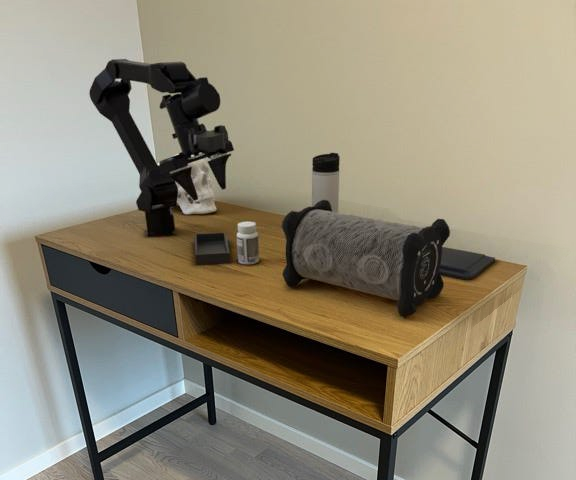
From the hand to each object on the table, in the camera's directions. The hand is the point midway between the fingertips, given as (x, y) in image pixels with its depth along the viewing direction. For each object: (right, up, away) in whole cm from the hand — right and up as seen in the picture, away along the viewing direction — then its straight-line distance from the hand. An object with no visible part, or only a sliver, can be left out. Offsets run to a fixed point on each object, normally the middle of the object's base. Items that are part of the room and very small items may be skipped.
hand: (210, 194), depth 137 cm
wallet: (+51, -17, -6) cm, 54 cm away
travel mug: (+27, -9, +8) cm, 29 cm away
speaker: (+32, -26, -21) cm, 46 cm away
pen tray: (0, -13, +1) cm, 13 cm away
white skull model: (-12, +7, +36) cm, 39 cm away
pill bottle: (+9, -17, -4) cm, 19 cm away
